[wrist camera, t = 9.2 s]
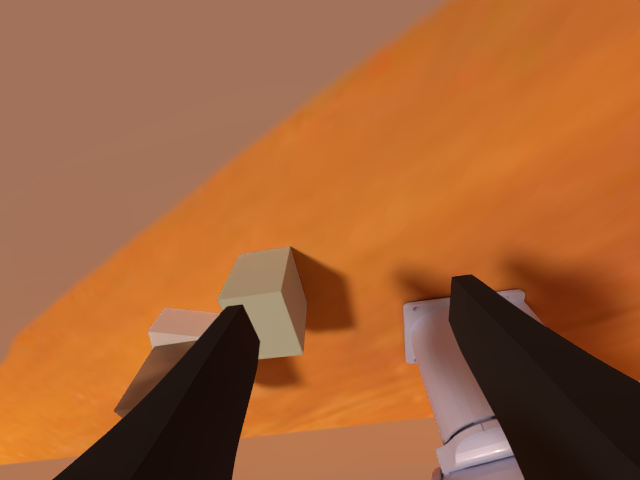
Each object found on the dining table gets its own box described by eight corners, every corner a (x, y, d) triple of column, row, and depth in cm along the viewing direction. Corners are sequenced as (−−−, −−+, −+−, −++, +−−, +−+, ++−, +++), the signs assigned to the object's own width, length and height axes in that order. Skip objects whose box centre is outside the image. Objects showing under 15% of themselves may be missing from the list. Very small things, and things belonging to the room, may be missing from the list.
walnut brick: (198, 340, 22) (166, 405, 17) (228, 381, 25) (207, 445, 20) (154, 346, 22) (113, 410, 18) (188, 386, 25) (161, 449, 21)
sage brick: (290, 245, 20) (280, 291, 16) (307, 303, 23) (303, 354, 19) (239, 253, 20) (217, 300, 16) (263, 308, 23) (249, 360, 19)
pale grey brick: (234, 311, 24) (223, 339, 22) (236, 364, 28) (227, 393, 26) (166, 304, 24) (147, 331, 21) (179, 358, 28) (164, 387, 25)
